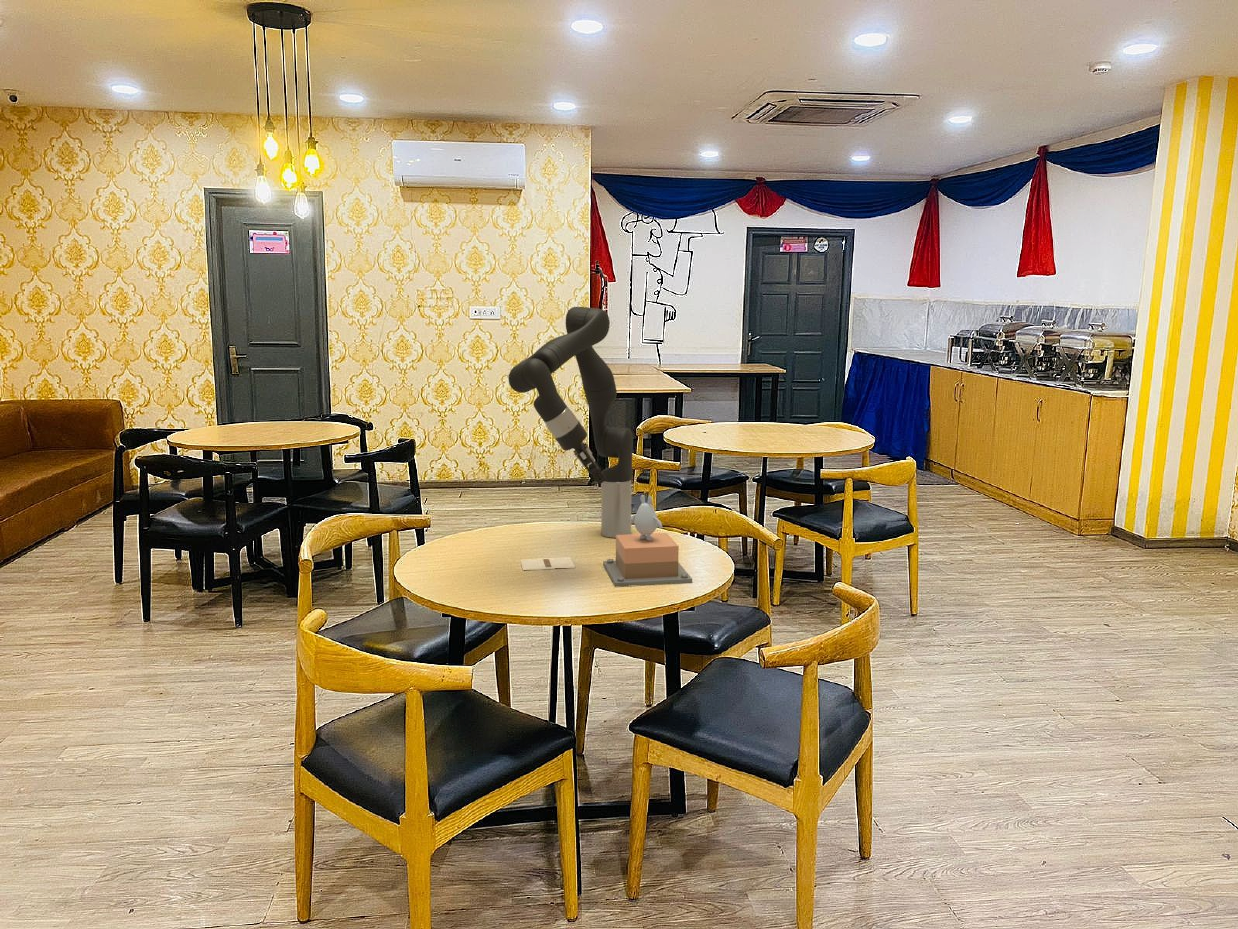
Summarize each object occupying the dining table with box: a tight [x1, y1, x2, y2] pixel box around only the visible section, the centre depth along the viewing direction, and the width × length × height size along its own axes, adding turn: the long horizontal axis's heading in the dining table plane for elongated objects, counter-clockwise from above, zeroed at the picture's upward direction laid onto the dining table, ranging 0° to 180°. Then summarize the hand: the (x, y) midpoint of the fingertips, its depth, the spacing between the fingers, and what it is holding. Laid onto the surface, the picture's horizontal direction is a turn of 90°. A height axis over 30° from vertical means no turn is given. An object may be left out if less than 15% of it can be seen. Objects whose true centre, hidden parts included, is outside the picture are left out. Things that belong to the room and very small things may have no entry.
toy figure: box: [630, 494, 663, 541], centre depth 241 cm, size 11×6×12 cm, turn 50°
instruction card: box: [520, 556, 576, 572], centre depth 252 cm, size 10×14×1 cm
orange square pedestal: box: [602, 532, 693, 588], centre depth 242 cm, size 20×20×9 cm
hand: (600, 477), depth 240 cm, fingers open, 8 cm apart
